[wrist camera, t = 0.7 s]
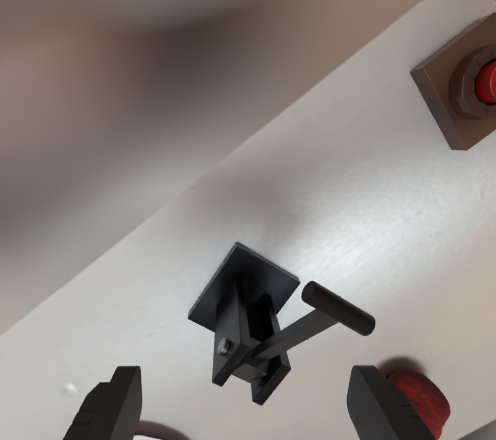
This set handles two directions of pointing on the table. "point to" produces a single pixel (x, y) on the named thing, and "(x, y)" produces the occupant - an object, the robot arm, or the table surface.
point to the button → (487, 83)
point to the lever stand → (245, 315)
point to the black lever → (304, 329)
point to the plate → (143, 438)
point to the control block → (460, 84)
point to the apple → (423, 398)
